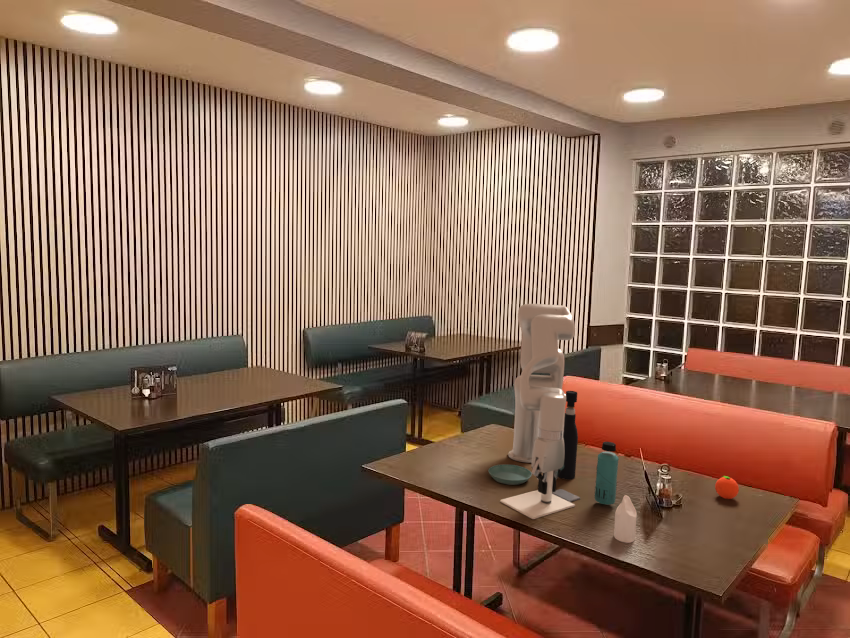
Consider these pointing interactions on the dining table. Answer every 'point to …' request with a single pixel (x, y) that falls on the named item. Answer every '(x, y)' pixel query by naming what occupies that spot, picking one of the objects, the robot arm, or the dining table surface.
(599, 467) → the beverage bottle
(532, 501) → the pad
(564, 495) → the plate
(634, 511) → the white tapered cylinder
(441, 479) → the dining table surface
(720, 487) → the clementine
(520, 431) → the robot arm
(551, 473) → the marker
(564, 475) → the black bottle
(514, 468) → the saucer
